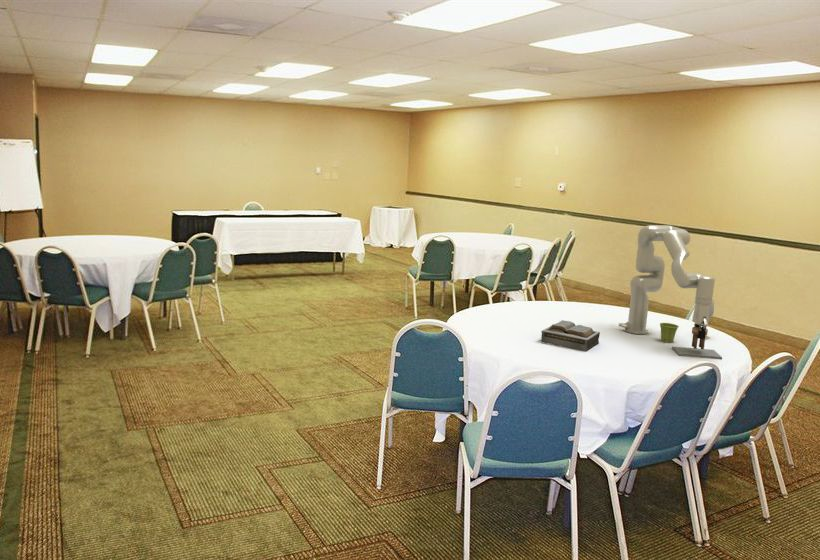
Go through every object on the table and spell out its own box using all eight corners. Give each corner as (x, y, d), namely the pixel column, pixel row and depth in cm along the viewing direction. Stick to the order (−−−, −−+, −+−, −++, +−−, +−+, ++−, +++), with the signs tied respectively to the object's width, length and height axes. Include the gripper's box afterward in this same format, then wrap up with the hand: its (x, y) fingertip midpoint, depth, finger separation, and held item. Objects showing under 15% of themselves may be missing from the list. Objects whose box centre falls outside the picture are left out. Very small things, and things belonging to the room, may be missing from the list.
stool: (692, 348, 320) (694, 329, 318) (688, 345, 327) (690, 326, 325) (707, 350, 319) (709, 331, 317) (703, 346, 326) (705, 327, 324)
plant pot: (676, 339, 348) (678, 324, 347) (677, 344, 339) (679, 328, 338) (657, 337, 351) (659, 321, 350) (658, 341, 342) (659, 325, 341)
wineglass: (711, 339, 353) (716, 301, 349) (696, 338, 354) (701, 300, 350) (708, 335, 360) (713, 298, 356) (693, 334, 361) (698, 297, 358)
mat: (678, 355, 319) (679, 353, 318) (672, 348, 331) (672, 346, 331) (721, 359, 316) (722, 357, 316) (713, 351, 329) (713, 349, 329)
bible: (559, 334, 350) (561, 316, 348) (605, 345, 331) (607, 326, 330) (534, 341, 333) (536, 322, 332) (581, 353, 315) (583, 334, 313)
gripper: (690, 297, 328) (686, 331, 331) (700, 304, 311) (696, 340, 314) (706, 298, 327) (701, 332, 330) (717, 305, 310) (712, 341, 313)
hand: (698, 336), depth 322 cm, fingers closed on stool, 7 cm apart
